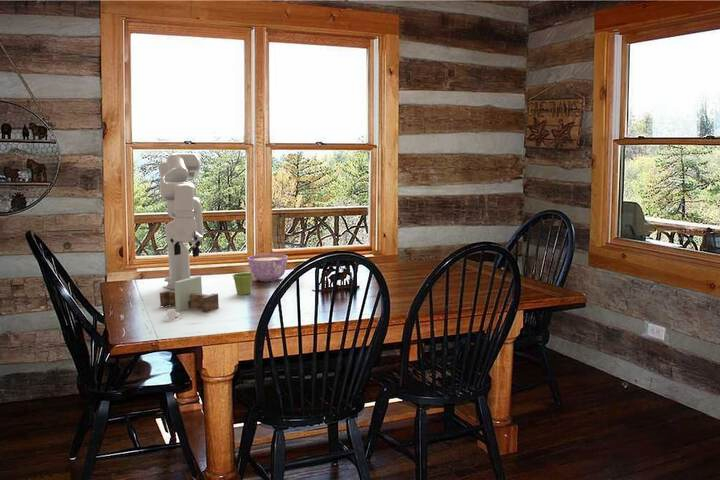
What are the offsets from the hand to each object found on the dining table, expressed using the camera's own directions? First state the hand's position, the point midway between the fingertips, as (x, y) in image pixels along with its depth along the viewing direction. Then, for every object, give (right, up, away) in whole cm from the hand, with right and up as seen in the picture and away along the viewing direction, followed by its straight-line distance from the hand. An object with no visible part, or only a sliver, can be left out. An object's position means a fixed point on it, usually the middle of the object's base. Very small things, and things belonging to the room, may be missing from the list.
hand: (186, 255), depth 286 cm
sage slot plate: (0, -22, +3) cm, 22 cm away
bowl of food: (+26, -14, +57) cm, 65 cm away
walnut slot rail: (0, -22, +3) cm, 22 cm away
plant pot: (+19, -18, +28) cm, 38 cm away
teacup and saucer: (+1, -25, -15) cm, 29 cm away
